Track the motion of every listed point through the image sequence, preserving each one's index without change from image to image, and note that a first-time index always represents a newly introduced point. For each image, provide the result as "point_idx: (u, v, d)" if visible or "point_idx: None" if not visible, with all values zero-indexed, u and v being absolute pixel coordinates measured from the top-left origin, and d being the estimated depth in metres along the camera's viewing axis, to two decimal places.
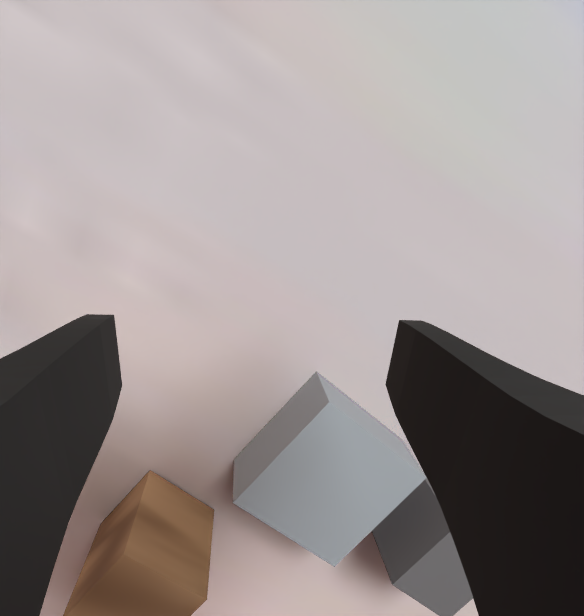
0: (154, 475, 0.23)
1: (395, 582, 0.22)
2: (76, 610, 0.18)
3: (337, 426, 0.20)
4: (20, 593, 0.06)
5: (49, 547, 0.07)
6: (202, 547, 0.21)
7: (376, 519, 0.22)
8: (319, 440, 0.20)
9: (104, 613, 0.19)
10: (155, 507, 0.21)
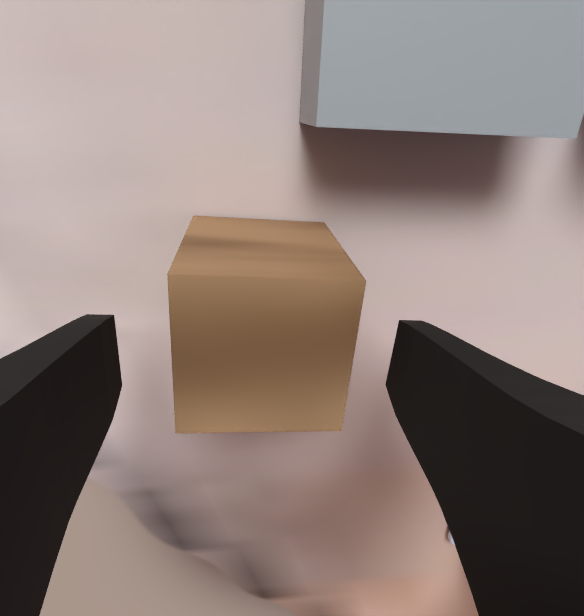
0: (203, 217, 0.14)
1: None
2: (182, 407, 0.11)
3: None
4: (20, 593, 0.06)
5: (49, 547, 0.07)
6: (324, 246, 0.12)
7: None
8: None
9: (224, 391, 0.11)
10: (216, 234, 0.12)
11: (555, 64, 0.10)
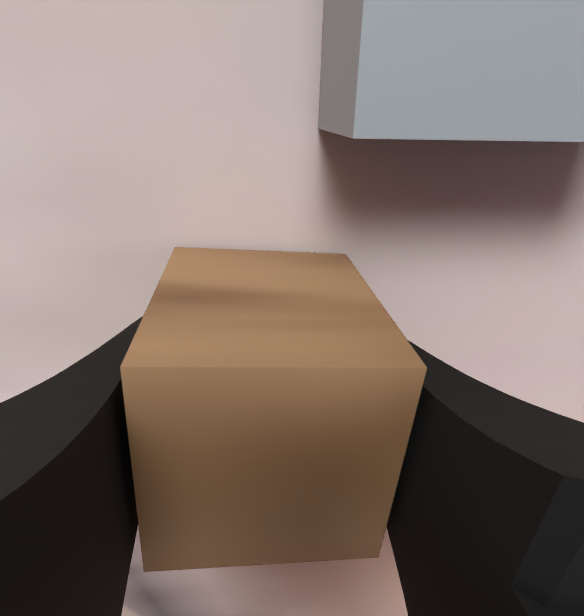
0: (187, 249, 0.11)
1: None
2: (152, 539, 0.07)
3: None
4: (112, 587, 0.06)
5: (128, 543, 0.07)
6: (352, 298, 0.09)
7: None
8: None
9: (213, 517, 0.07)
10: (202, 280, 0.09)
11: None
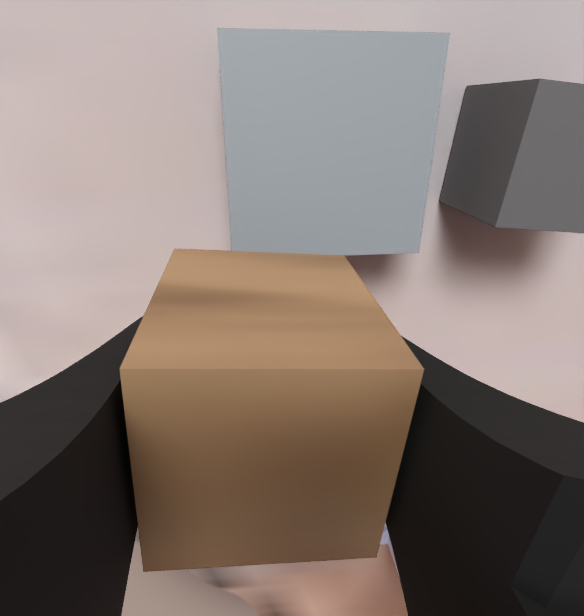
0: (187, 251, 0.11)
1: (498, 221, 0.14)
2: (151, 539, 0.07)
3: (259, 56, 0.12)
4: (111, 586, 0.06)
5: (128, 543, 0.07)
6: (351, 299, 0.09)
7: (424, 152, 0.14)
8: (256, 98, 0.13)
9: (212, 518, 0.07)
10: (202, 281, 0.09)
11: (393, 209, 0.15)
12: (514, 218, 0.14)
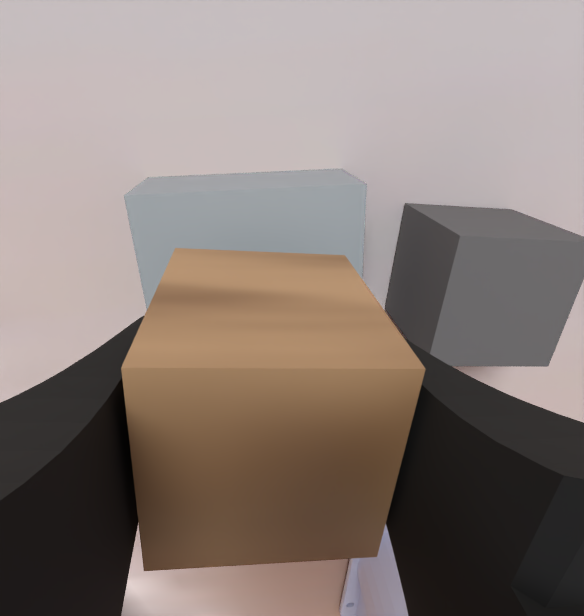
0: (187, 250, 0.11)
1: None
2: (152, 539, 0.07)
3: (170, 217, 0.12)
4: (111, 588, 0.06)
5: (128, 543, 0.07)
6: (352, 299, 0.09)
7: None
8: None
9: (213, 517, 0.07)
10: (203, 281, 0.09)
11: None
12: (446, 357, 0.14)
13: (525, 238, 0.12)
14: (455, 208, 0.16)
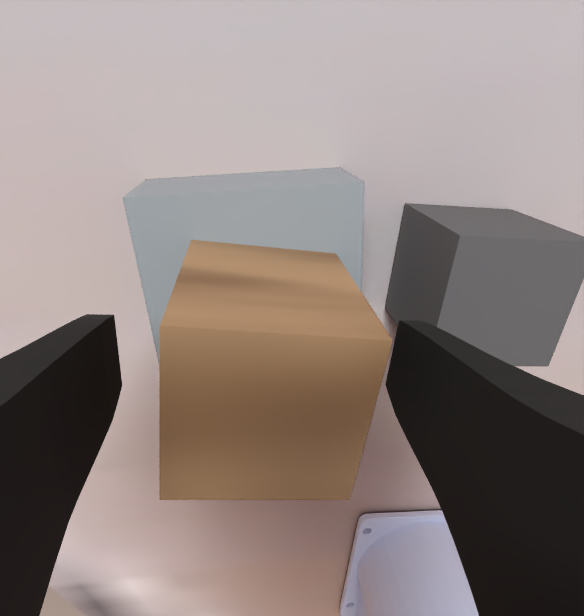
0: (202, 242, 0.12)
1: None
2: (169, 471, 0.09)
3: (169, 218, 0.12)
4: (20, 593, 0.06)
5: (49, 547, 0.07)
6: (339, 288, 0.11)
7: None
8: (172, 255, 0.13)
9: (219, 455, 0.09)
10: (217, 267, 0.11)
11: None
12: None
13: (525, 238, 0.12)
14: (455, 208, 0.16)
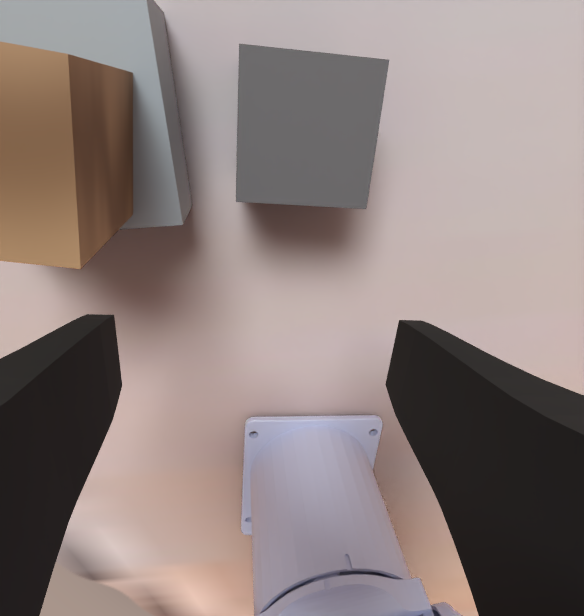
0: None
1: (237, 195, 0.14)
2: None
3: None
4: (20, 593, 0.06)
5: (49, 547, 0.07)
6: None
7: (156, 118, 0.14)
8: None
9: None
10: None
11: (141, 180, 0.14)
12: (254, 192, 0.14)
13: None
14: None
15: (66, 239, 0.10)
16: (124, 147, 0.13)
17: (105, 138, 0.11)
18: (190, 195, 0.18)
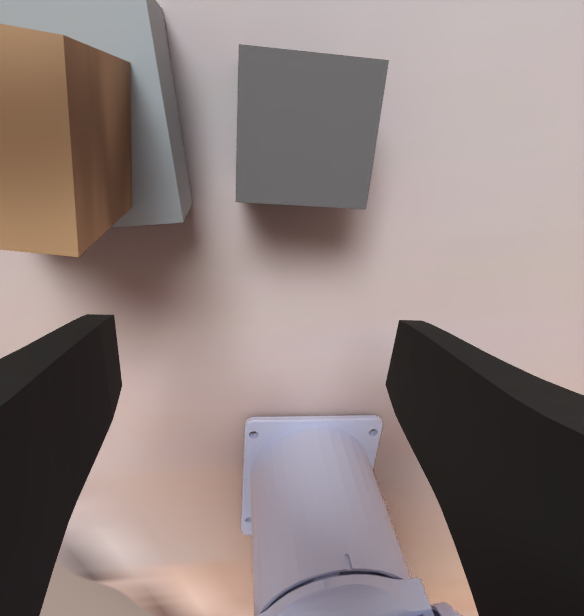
0: None
1: (237, 196, 0.14)
2: None
3: None
4: (20, 593, 0.06)
5: (49, 547, 0.07)
6: None
7: (155, 115, 0.14)
8: None
9: None
10: None
11: (141, 178, 0.14)
12: (254, 192, 0.14)
13: (310, 52, 0.12)
14: None
15: (63, 226, 0.10)
16: (122, 137, 0.13)
17: (102, 126, 0.11)
18: (190, 193, 0.18)
